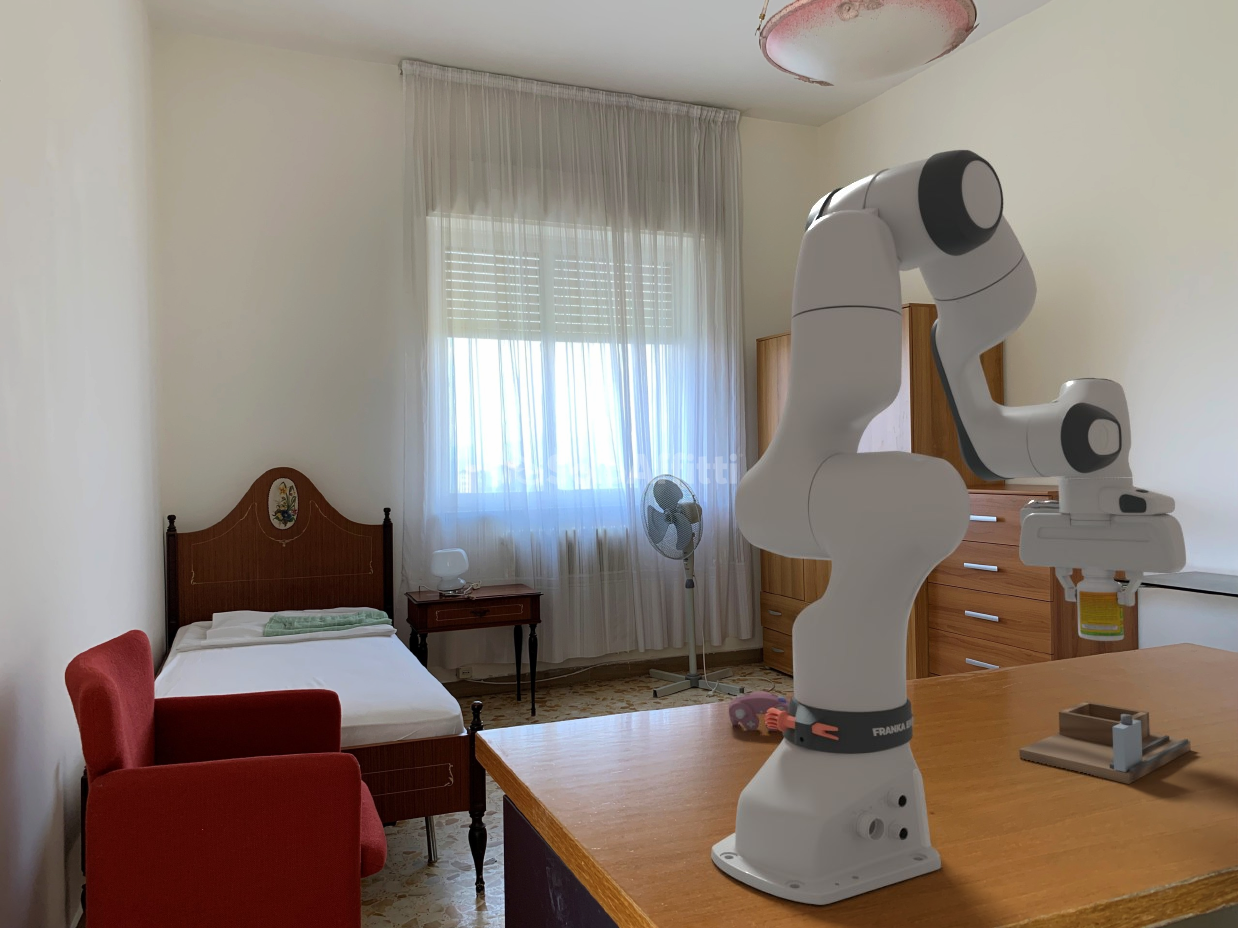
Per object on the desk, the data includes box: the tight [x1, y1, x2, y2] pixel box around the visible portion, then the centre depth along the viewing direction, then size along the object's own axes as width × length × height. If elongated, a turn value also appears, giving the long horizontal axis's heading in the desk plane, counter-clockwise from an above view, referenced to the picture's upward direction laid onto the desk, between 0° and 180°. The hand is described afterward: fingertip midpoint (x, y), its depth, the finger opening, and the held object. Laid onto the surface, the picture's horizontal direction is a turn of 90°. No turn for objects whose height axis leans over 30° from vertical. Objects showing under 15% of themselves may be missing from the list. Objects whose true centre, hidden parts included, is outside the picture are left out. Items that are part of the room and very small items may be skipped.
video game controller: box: [728, 691, 791, 732], centre depth 129 cm, size 10×5×7 cm, turn 77°
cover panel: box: [1112, 714, 1142, 772], centre depth 105 cm, size 5×1×6 cm, turn 129°
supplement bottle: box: [1076, 566, 1125, 642], centre depth 118 cm, size 5×5×10 cm
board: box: [1019, 701, 1192, 785], centre depth 114 cm, size 19×13×4 cm
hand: (1099, 603), depth 118 cm, fingers closed on supplement bottle, 5 cm apart
